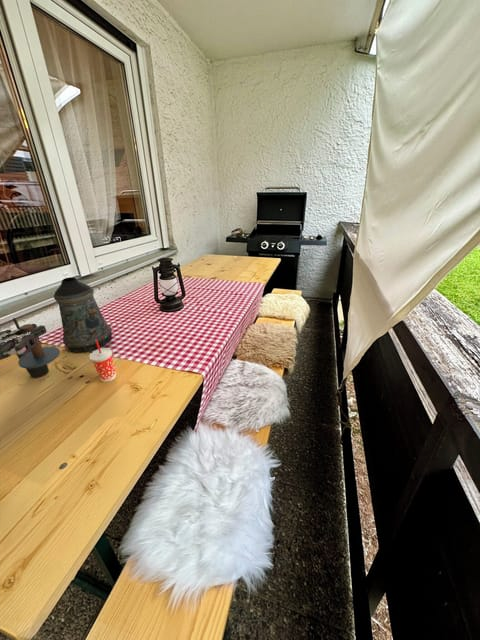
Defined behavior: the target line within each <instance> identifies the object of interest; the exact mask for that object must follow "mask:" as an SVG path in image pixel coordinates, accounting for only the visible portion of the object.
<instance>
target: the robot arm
mask: <svg viewBox="0 0 480 640" xmlns="http://www.w3.org/2000/svg"><path fill="white" fill-rule="evenodd" d="M30 324H31V325H32V326H33V329H32V330H30V331H28V332H26V333H23V334H22V332H21V329H20V330H18V329H17V328H16V329H13V330H12V329H6V330H2V331H0V361H2V360H4V359H7V358H9V357H11V356H13V355H16V354H18V356H19V357H23V356H25V355H26V354H27V353H28V352H29V351H30V350H31V349H32V348H33V347H34V346H35V345H36V341H35V338H37V337H39V338H40V337H41V336H43V335H45V334H46V333H47V328H46V326H45V325H42V324H41V325H37V323H30ZM24 337H25V338H24ZM22 338H24V339H23V340H21V339H22ZM16 343H17V344H16ZM18 356H17V357H18Z"/></svg>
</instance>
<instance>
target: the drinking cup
mask: <svg viewBox="0 0 480 640" xmlns="http://www.w3.org/2000/svg"><path fill="white" fill-rule="evenodd" d="M12 321H13V323H14V325H15V327H16V330H17V329H18V330H20V327H21V326H20V325H19V322H18V321H17V318H16V317H13V318H12ZM37 338H38V340H39V342H40V344H41V347H42V343H41V340H40V336H39V337H37ZM23 339H24V338H22V339H21V340H23ZM16 344H17V343H16ZM29 352H30V351H29ZM15 355H16V356H17V358H18V360H19V359H20V358H21V357H19V356H18V354H15ZM25 370H26V371H27V373H28V374H29V376H30V377H31V378H33V379H37V378H41V377H43V376H45V375H46V374H48V373H49V372H50V369H49V366H48V364H46V365H43V366H40V367H37V368H30V369H26V368H25Z"/></svg>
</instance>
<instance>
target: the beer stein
mask: <svg viewBox="0 0 480 640" xmlns="http://www.w3.org/2000/svg"><path fill="white" fill-rule="evenodd" d="M94 294H95V289H94V287H92V286H91V285H88V284H86V283H85V282H82V281H79V280H78V279H77V278H76V277H72V276H71V277H65V278H63V279H62V280H61V282H60V285H59V287H58V288H57V289H56V290H55V292H54V294H53V299H54V300H55V302H56V303H57V304H58V309H59V314H60V318H61V326H62V342H63V345H65V347H66V349H67V351H70V352H71V353H74V354H82V353H83V354H85V353H89V352H94V351H96V349H97V350H98V347H97V344H96V341H95V339H97V341H98V344H99V347H100V349H102V348H104V347H106V346H107V345H108V344H109V343H110V342H111V341H112V338H113V337H112V336H113V334H112V333H113V332H112V331H113V329H112V327H111V326H110V325H109V324H108V323H107V321H106V319H105V318H104V316H103V314H102V311H101V310H100V307H99V306H98V303H97V301H96V299H95V297H94ZM109 341H110V342H109ZM108 342H109V343H108ZM107 343H108V344H107ZM106 344H107V345H106ZM105 345H106V346H105Z"/></svg>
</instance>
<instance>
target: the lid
mask: <svg viewBox="0 0 480 640" xmlns="http://www.w3.org/2000/svg"><path fill="white" fill-rule="evenodd" d="M31 324H32V323H27V324H23V325H21V326H19V327H20V329H21V332H22V334H23V333H26V332H28V331H30V330H32V329H33V326H32V325H31ZM24 338H25V337H24ZM39 340H40V339H39ZM39 340H38V338H35V341H36V345H35V346H34V347H33V348H32V349H31V350H30V352H28V353H27V354H26V355H25V356H23V357H21V358H20V359H19V358H18V361H17V364H18V366H19V367H20V368H22V369H25V370H26V369H30V368H37V367H40V366H43V365H46V364H47V365H48V364H50V363H52V362H54V361H56V360H57V358H58V357H59V356H60V354H61V350H60V348H58V347H56V346H43V347H41V346H42V343H41V341H40V342H39ZM40 343H41V344H40Z"/></svg>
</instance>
